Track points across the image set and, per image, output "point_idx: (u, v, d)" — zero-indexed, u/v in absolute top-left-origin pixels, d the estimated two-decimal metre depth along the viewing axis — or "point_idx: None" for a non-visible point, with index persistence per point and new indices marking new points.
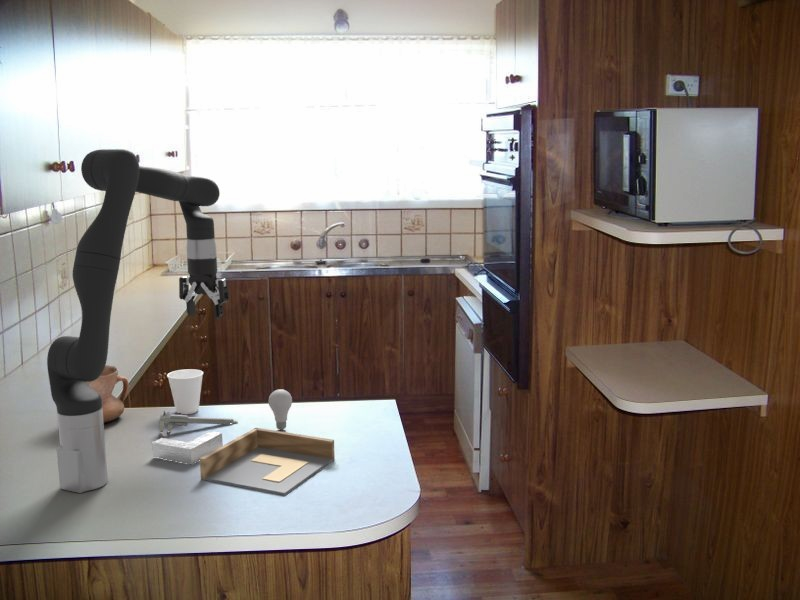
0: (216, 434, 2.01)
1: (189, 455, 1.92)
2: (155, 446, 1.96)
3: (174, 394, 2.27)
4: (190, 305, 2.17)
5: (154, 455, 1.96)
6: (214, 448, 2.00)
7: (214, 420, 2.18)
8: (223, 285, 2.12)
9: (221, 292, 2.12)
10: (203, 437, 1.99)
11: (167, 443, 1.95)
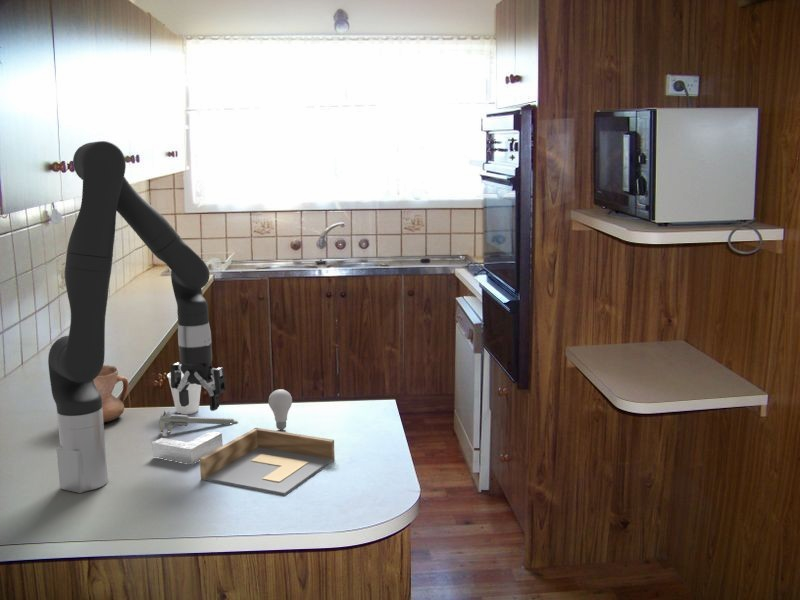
0: (216, 434, 2.01)
1: (189, 456, 1.92)
2: (155, 446, 1.96)
3: (174, 394, 2.27)
4: (183, 395, 1.96)
5: (154, 455, 1.96)
6: (214, 448, 2.00)
7: (214, 420, 2.18)
8: (219, 375, 1.91)
9: (217, 382, 1.91)
10: (203, 437, 1.99)
11: (167, 443, 1.95)
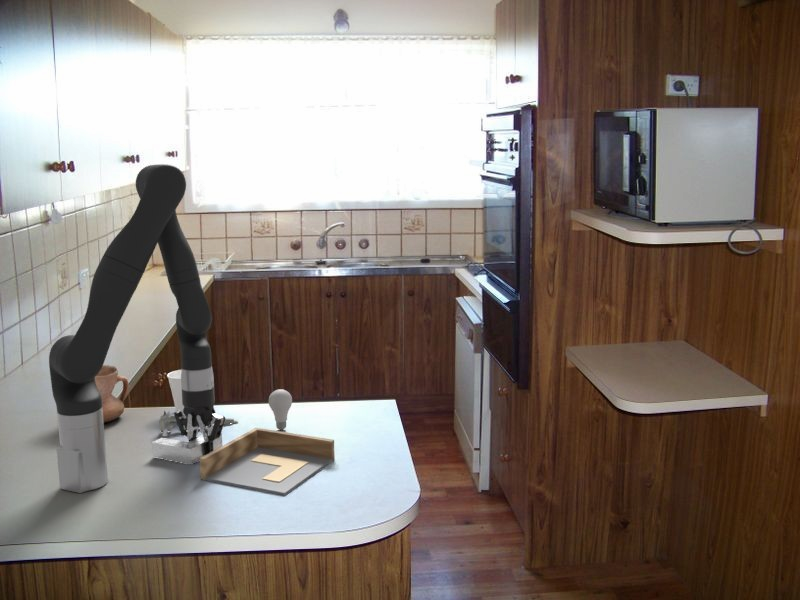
0: None
1: (188, 455, 1.92)
2: (155, 446, 1.96)
3: (174, 394, 2.27)
4: None
5: (154, 455, 1.96)
6: (214, 448, 2.00)
7: None
8: (219, 425, 1.93)
9: (214, 430, 1.93)
10: (203, 437, 1.99)
11: (167, 443, 1.95)
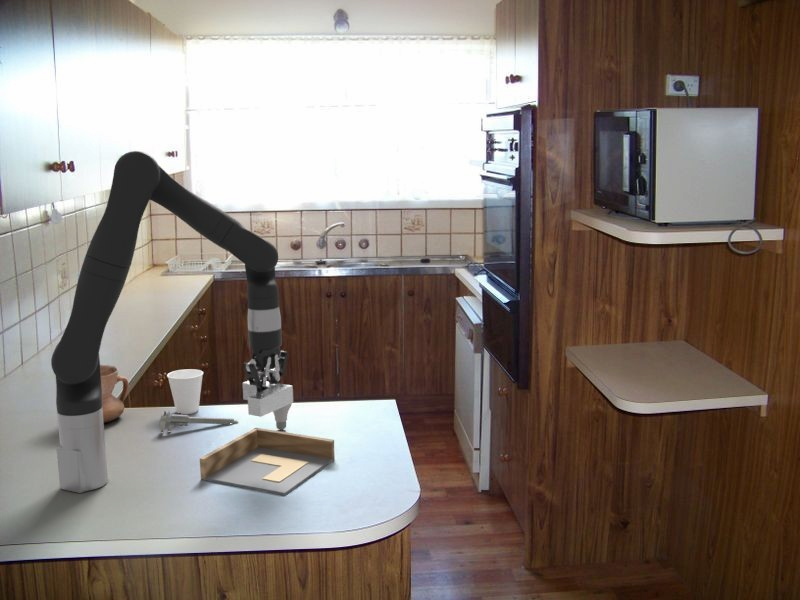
0: None
1: (291, 393, 1.88)
2: (263, 401, 1.80)
3: (174, 394, 2.27)
4: None
5: (262, 412, 1.80)
6: None
7: (215, 420, 2.19)
8: None
9: (285, 365, 1.93)
10: None
11: (269, 393, 1.82)
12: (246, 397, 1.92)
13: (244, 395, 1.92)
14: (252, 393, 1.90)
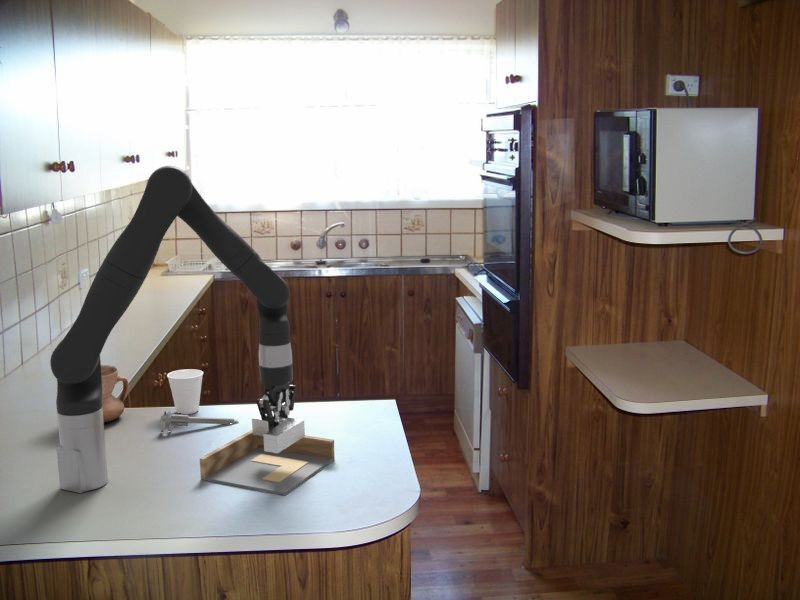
0: None
1: (303, 427, 1.89)
2: (279, 438, 1.80)
3: (174, 394, 2.27)
4: None
5: (278, 449, 1.80)
6: None
7: (215, 420, 2.19)
8: None
9: (293, 398, 1.93)
10: None
11: (283, 429, 1.83)
12: (256, 432, 1.91)
13: (253, 430, 1.91)
14: (262, 428, 1.90)
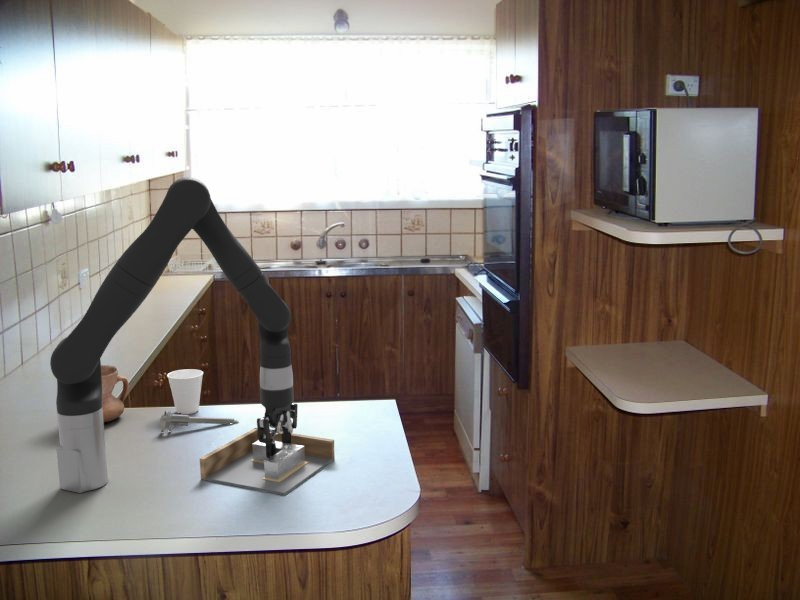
0: None
1: (303, 453, 1.90)
2: (280, 465, 1.81)
3: (174, 394, 2.27)
4: None
5: (279, 476, 1.81)
6: None
7: (215, 420, 2.19)
8: None
9: (296, 416, 1.95)
10: None
11: (284, 456, 1.84)
12: (256, 458, 1.92)
13: (254, 456, 1.92)
14: (263, 454, 1.91)
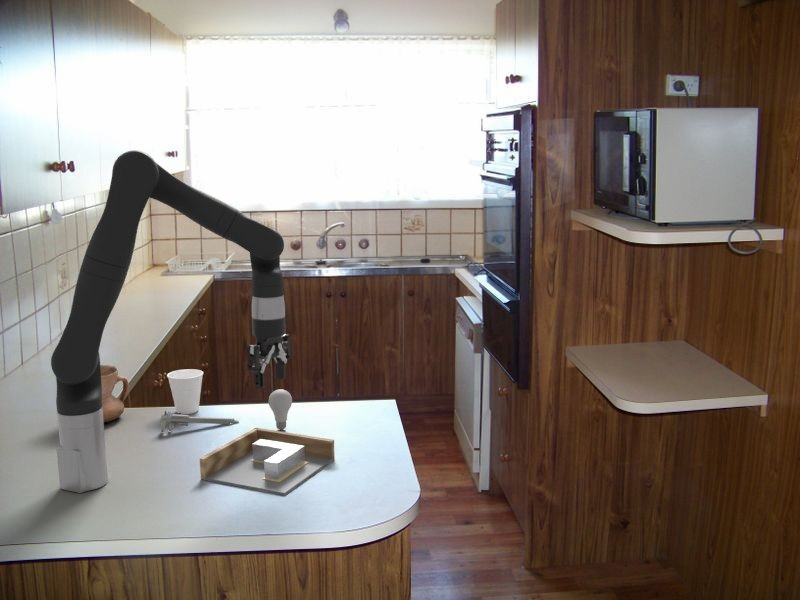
0: (264, 440, 1.94)
1: (303, 453, 1.90)
2: (280, 465, 1.81)
3: (174, 394, 2.27)
4: None
5: (279, 476, 1.81)
6: None
7: (215, 420, 2.19)
8: None
9: (289, 347, 1.94)
10: (271, 444, 1.91)
11: (284, 456, 1.84)
12: (256, 458, 1.92)
13: (254, 456, 1.92)
14: (263, 454, 1.91)
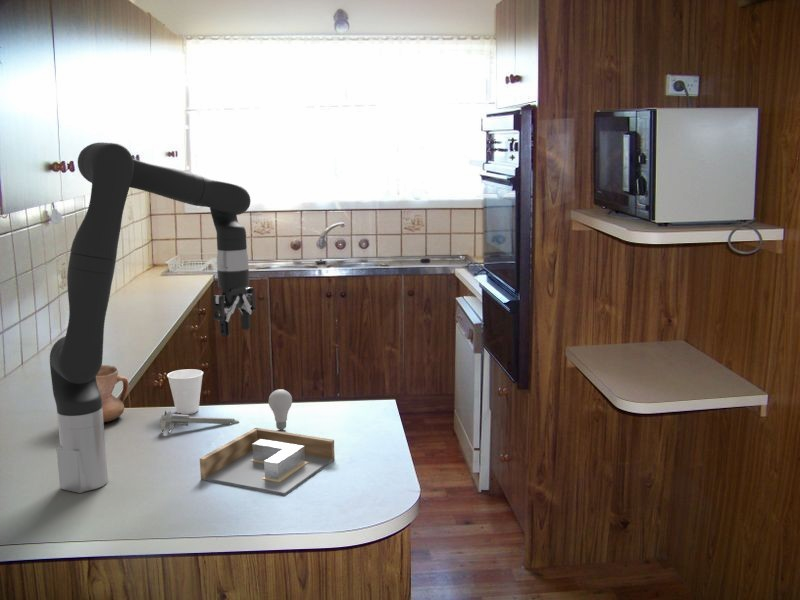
0: (264, 440, 1.94)
1: (303, 453, 1.90)
2: (280, 465, 1.81)
3: (174, 394, 2.27)
4: None
5: (279, 476, 1.81)
6: None
7: (215, 420, 2.19)
8: None
9: (253, 299, 2.06)
10: (271, 444, 1.91)
11: (284, 456, 1.84)
12: (256, 458, 1.92)
13: (254, 456, 1.92)
14: (263, 454, 1.91)
